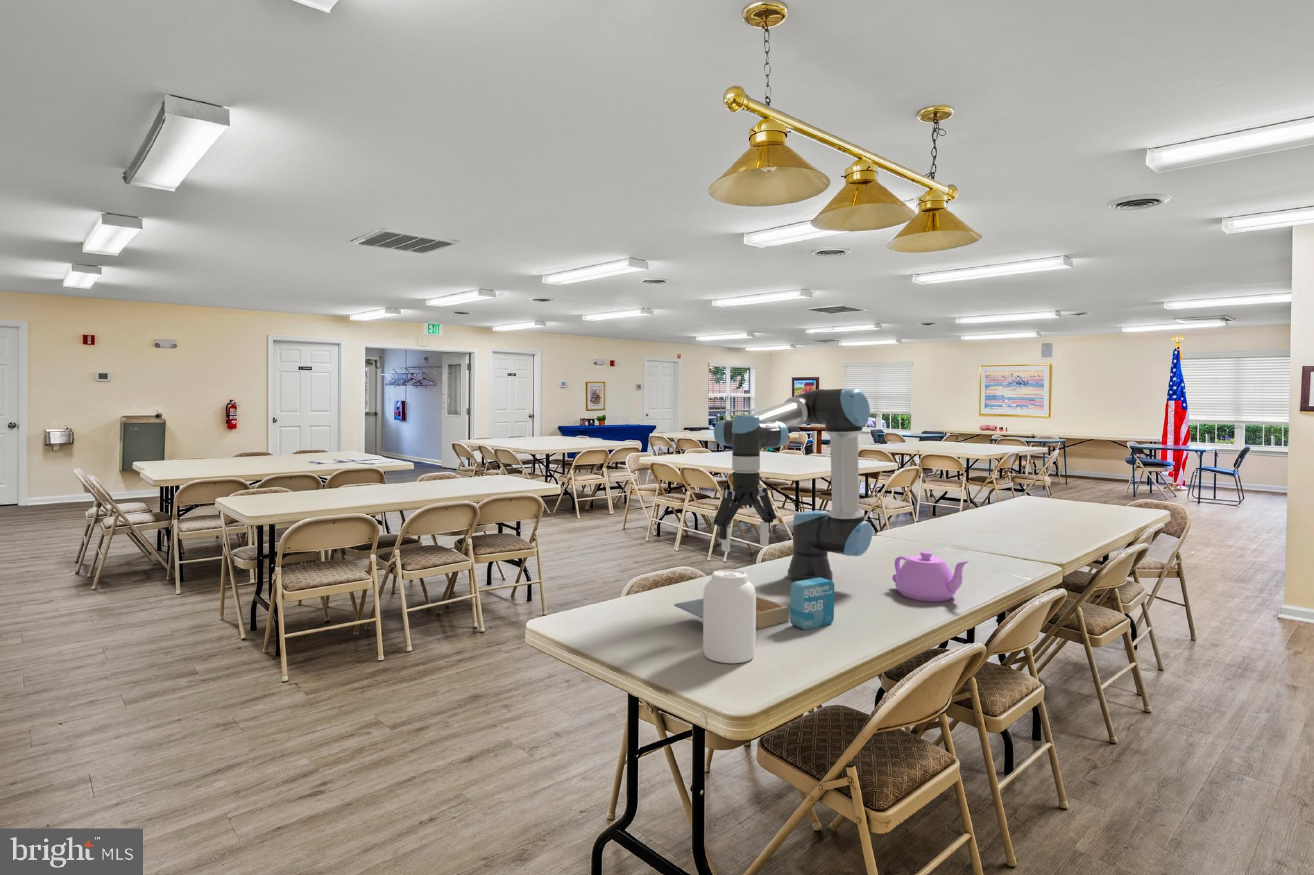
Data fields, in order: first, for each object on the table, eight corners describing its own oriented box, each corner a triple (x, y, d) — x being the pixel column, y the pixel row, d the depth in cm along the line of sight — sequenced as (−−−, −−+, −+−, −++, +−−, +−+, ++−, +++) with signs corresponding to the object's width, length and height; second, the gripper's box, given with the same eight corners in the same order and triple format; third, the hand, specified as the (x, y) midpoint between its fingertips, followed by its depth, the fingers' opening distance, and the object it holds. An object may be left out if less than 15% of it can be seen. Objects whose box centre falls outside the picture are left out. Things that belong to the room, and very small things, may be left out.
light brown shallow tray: (747, 605, 202) (748, 592, 202) (788, 621, 188) (788, 606, 187) (718, 611, 196) (718, 598, 196) (758, 628, 182) (758, 613, 181)
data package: (801, 630, 180) (801, 586, 179) (789, 626, 184) (790, 582, 183) (834, 623, 186) (834, 580, 185) (822, 618, 190) (822, 576, 189)
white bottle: (760, 664, 157) (761, 578, 156) (707, 665, 156) (707, 579, 155) (749, 644, 169) (749, 565, 168) (699, 646, 168) (699, 566, 167)
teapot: (877, 592, 217) (877, 549, 216) (906, 582, 228) (907, 542, 227) (953, 610, 197) (954, 564, 197) (981, 599, 209) (983, 555, 208)
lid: (706, 599, 193) (706, 585, 193) (745, 615, 179) (745, 600, 179) (674, 605, 187) (674, 591, 187) (712, 622, 173) (712, 606, 173)
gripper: (771, 467, 196) (770, 540, 197) (700, 472, 182) (700, 550, 184) (789, 469, 189) (788, 545, 190) (717, 475, 176) (717, 556, 177)
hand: (745, 548), depth 187 cm, fingers open, 13 cm apart
